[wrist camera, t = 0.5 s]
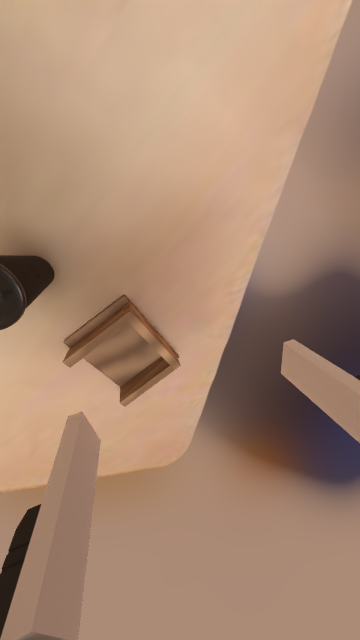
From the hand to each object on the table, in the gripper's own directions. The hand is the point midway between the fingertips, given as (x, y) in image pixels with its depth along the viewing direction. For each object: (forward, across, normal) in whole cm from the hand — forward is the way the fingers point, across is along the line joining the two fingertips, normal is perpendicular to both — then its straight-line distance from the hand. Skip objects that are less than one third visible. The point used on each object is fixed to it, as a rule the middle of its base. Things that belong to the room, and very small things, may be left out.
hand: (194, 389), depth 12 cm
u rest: (+26, -7, -11) cm, 29 cm away
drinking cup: (+27, -16, +7) cm, 32 cm away
